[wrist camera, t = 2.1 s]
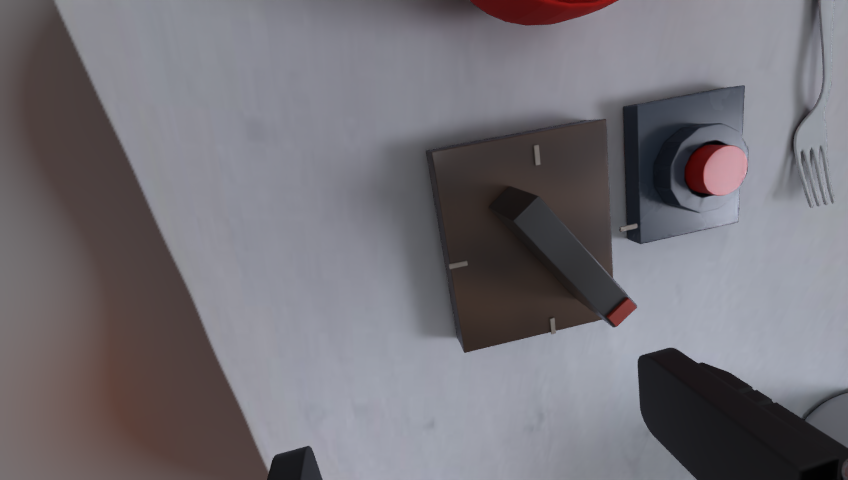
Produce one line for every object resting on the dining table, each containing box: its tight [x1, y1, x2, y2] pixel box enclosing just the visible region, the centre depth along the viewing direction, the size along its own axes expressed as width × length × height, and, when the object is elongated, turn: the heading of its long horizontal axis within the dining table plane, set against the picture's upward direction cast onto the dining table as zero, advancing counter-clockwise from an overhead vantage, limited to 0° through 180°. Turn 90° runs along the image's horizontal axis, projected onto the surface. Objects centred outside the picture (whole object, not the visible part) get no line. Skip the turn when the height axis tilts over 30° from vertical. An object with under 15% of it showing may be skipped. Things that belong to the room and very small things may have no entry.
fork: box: [794, 0, 835, 208], centre depth 32 cm, size 3×24×2 cm, turn 10°
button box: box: [624, 85, 748, 244], centre depth 32 cm, size 11×9×4 cm
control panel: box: [426, 119, 637, 353], centre depth 32 cm, size 16×15×3 cm
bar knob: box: [489, 186, 637, 327], centre depth 28 cm, size 11×2×5 cm, turn 45°
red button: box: [685, 145, 748, 196], centre depth 30 cm, size 4×4×2 cm
